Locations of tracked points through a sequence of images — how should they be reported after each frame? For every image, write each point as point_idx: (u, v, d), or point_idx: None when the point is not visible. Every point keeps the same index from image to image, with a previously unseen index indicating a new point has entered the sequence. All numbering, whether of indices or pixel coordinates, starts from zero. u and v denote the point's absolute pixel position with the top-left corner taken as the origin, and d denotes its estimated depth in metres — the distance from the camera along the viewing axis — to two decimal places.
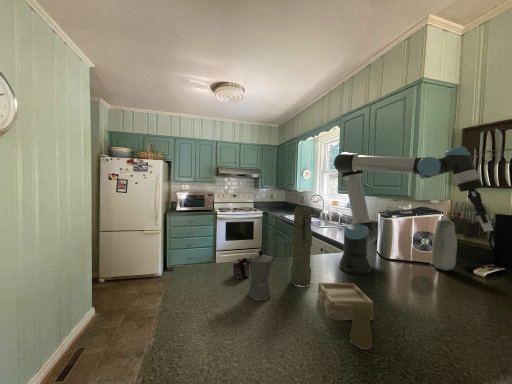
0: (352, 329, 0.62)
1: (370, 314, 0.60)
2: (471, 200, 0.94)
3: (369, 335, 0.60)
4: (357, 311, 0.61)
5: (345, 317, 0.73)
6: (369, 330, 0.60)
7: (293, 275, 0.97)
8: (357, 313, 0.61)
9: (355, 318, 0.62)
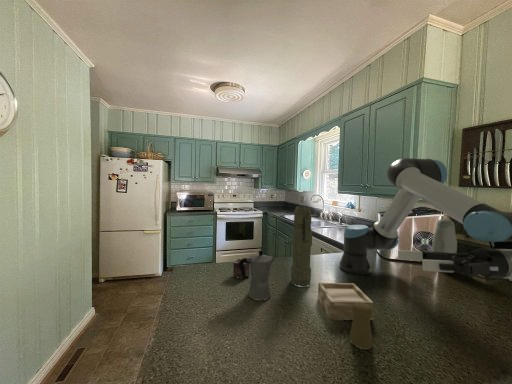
0: (352, 329, 0.62)
1: (370, 314, 0.60)
2: (472, 259, 0.57)
3: (369, 335, 0.60)
4: (357, 311, 0.61)
5: (345, 317, 0.73)
6: (369, 330, 0.60)
7: (293, 275, 0.97)
8: (357, 313, 0.61)
9: (355, 318, 0.62)
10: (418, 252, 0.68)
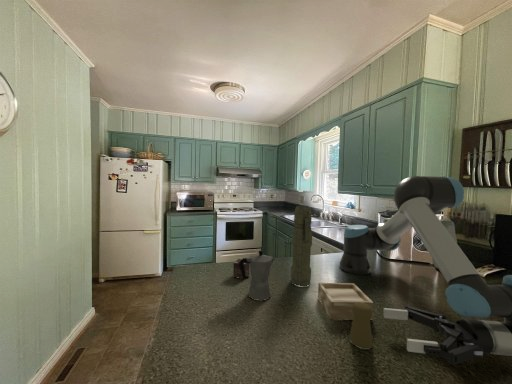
0: (352, 329, 0.62)
1: (370, 314, 0.60)
2: (457, 337, 0.55)
3: (369, 335, 0.60)
4: (357, 310, 0.61)
5: (345, 317, 0.73)
6: (369, 330, 0.60)
7: (293, 275, 0.97)
8: (357, 313, 0.61)
9: (355, 318, 0.62)
10: (404, 312, 0.66)
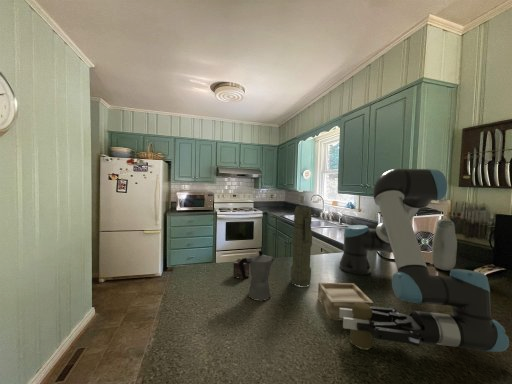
0: (352, 329, 0.62)
1: (370, 314, 0.60)
2: (399, 324, 0.58)
3: (369, 335, 0.60)
4: (357, 311, 0.61)
5: None
6: None
7: (293, 275, 0.97)
8: (357, 313, 0.61)
9: None
10: None
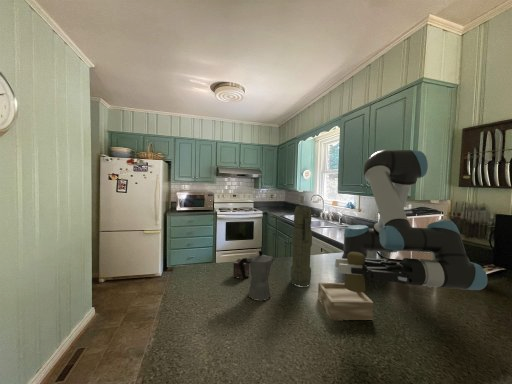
0: (347, 275, 0.68)
1: (363, 260, 0.66)
2: (389, 268, 0.64)
3: (362, 279, 0.66)
4: (352, 257, 0.66)
5: (345, 317, 0.73)
6: (362, 275, 0.66)
7: (293, 275, 0.97)
8: (351, 260, 0.66)
9: None
10: None
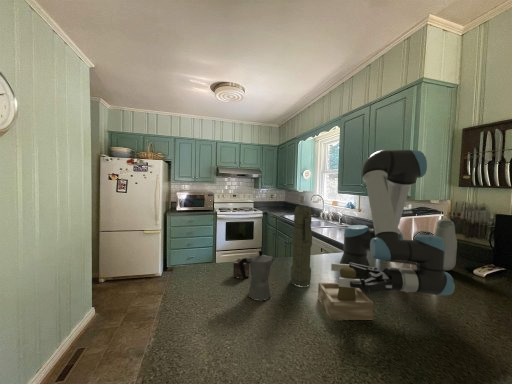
0: (339, 288, 0.76)
1: (354, 275, 0.74)
2: (377, 277, 0.74)
3: (353, 292, 0.74)
4: (344, 272, 0.74)
5: (345, 317, 0.73)
6: (353, 288, 0.74)
7: (293, 275, 0.97)
8: (343, 275, 0.74)
9: None
10: (346, 265, 0.85)
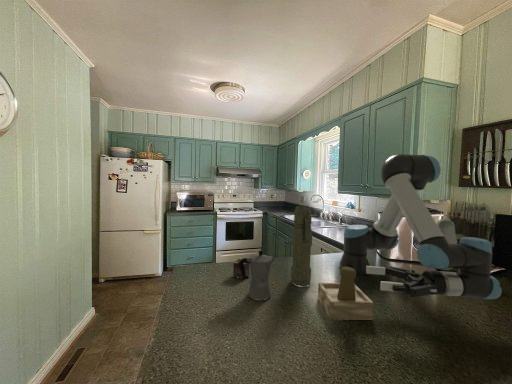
0: (339, 288, 0.76)
1: (354, 275, 0.74)
2: (419, 281, 0.72)
3: (353, 292, 0.74)
4: (344, 272, 0.75)
5: (345, 317, 0.73)
6: (353, 288, 0.74)
7: (293, 275, 0.97)
8: (343, 274, 0.75)
9: (342, 279, 0.76)
10: (382, 268, 0.83)
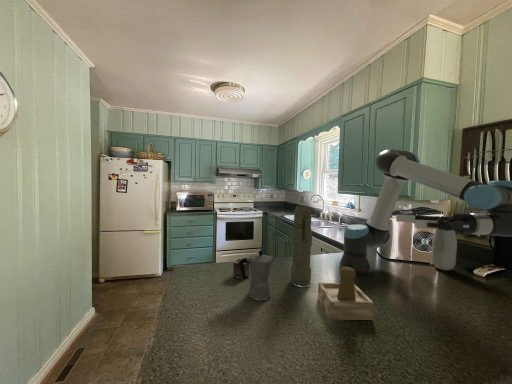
0: (339, 288, 0.76)
1: (353, 274, 0.74)
2: (451, 220, 0.77)
3: (353, 292, 0.74)
4: (343, 272, 0.75)
5: (345, 317, 0.73)
6: (353, 288, 0.74)
7: (293, 275, 0.97)
8: (343, 274, 0.75)
9: (342, 279, 0.76)
10: (412, 216, 0.88)
